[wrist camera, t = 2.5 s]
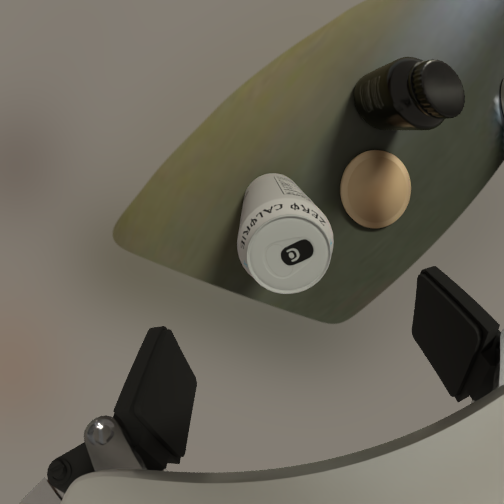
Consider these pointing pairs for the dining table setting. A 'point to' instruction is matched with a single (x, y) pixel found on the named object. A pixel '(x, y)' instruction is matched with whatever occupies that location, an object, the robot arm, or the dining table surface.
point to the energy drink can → (283, 236)
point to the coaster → (375, 189)
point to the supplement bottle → (409, 95)
